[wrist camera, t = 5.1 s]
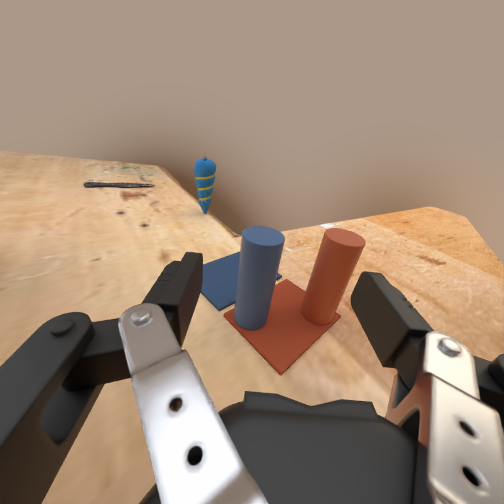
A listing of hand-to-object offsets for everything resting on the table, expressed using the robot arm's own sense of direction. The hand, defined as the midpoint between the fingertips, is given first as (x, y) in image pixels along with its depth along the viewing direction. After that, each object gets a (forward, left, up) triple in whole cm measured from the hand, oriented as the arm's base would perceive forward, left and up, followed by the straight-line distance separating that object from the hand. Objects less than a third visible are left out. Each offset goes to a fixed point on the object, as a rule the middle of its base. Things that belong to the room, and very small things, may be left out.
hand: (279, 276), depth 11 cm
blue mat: (-17, +12, -16) cm, 26 cm away
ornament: (-42, +22, -16) cm, 50 cm away
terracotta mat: (-6, +12, -16) cm, 20 cm away
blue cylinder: (-8, +8, -15) cm, 19 cm away
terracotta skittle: (-3, +16, -15) cm, 22 cm away
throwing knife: (-73, +11, -16) cm, 76 cm away
